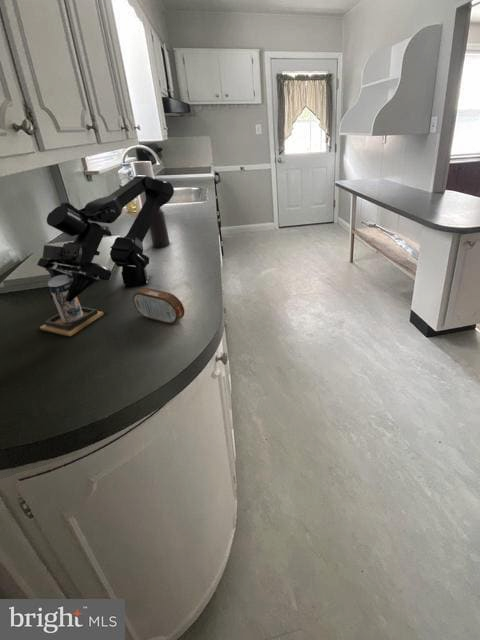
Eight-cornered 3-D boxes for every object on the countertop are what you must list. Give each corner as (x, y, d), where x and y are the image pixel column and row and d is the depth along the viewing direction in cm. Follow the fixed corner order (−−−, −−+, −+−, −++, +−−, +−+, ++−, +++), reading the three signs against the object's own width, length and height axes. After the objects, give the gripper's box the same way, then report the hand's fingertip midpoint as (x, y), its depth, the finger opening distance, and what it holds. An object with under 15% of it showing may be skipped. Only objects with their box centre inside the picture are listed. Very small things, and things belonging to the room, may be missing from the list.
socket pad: (76, 308, 86) (74, 302, 85) (104, 314, 83) (102, 308, 82) (40, 329, 77) (37, 323, 76) (70, 336, 74) (67, 329, 73)
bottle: (154, 243, 135) (145, 198, 127) (170, 241, 136) (162, 197, 128) (152, 248, 128) (142, 201, 121) (169, 246, 130) (160, 200, 122)
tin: (187, 321, 79) (182, 293, 76) (179, 328, 76) (173, 299, 73) (143, 310, 84) (137, 283, 81) (134, 316, 82) (127, 289, 78)
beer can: (69, 325, 77) (54, 284, 72) (58, 321, 79) (42, 280, 74) (87, 315, 81) (74, 275, 76) (76, 311, 83) (62, 272, 78)
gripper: (31, 227, 77) (-1, 286, 71) (89, 233, 71) (59, 296, 66) (69, 245, 87) (44, 298, 81) (122, 251, 81) (98, 308, 76)
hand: (60, 300), depth 76 cm, fingers closed on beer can, 5 cm apart
